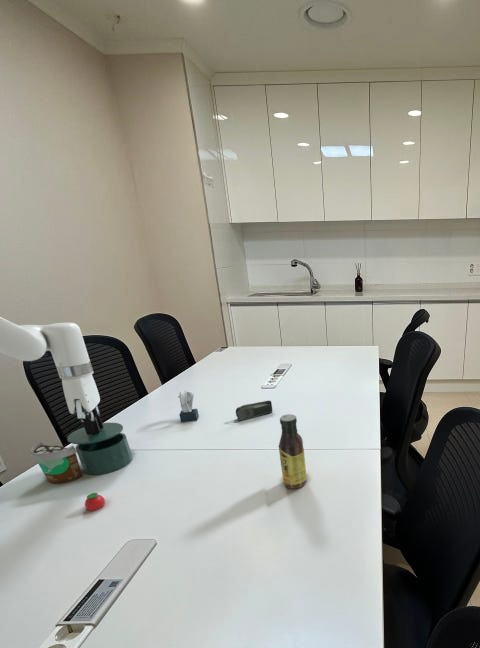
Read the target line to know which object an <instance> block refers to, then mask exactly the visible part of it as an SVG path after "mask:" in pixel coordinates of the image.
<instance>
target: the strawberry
mask: <svg viewBox="0 0 480 648" xmlns="http://www.w3.org/2000/svg"><path fill="white" fill-rule="evenodd" d="M105 504H106V499H105V498H104V496H102V494H98V493H97V492H92V493H89V494H88V495H86V499H85V501H84V507H85V508H86V509H87V510H88V511H90V512H95V511H98V510H100V509H102V508H103V507H105Z"/></svg>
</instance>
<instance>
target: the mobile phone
mask: <svg viewBox="0 0 480 648" xmlns="http://www.w3.org/2000/svg"><path fill="white" fill-rule="evenodd" d="M272 412H273V403H272V401H271V400H263V401H257V402H254V403H253V402H252V403H247V404H243V405H240V406H238V407H236V409H235V416H236V419H234V420H233V421H234V422H239V421H243V420H247V419H251V418H255V417H260V416H264V415H268V414H271V413H272Z"/></svg>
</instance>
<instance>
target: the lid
mask: <svg viewBox="0 0 480 648" xmlns="http://www.w3.org/2000/svg"><path fill="white" fill-rule="evenodd" d="M94 419H95V420H97V418H96V416H94ZM97 423H98V421H97ZM102 424H103V429H100V427H99V424H98V427H99V430H100V433H98V434H90V435H87V434H86V431H85V428H84V427H82V428H79V429H77V430H74V431H73V432H71V433H69V435H68V436H67V439H66V440H67V442H68V443H70V444H72V445H78V444H90V443H96V442H100V441H104V440H107V439H109V438H112V437H114V436H116V435H118V434H119V433H122V432H123V430H124V426H123V425H122V424H121V423H117V422H102Z"/></svg>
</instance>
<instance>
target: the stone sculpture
mask: <svg viewBox="0 0 480 648" xmlns="http://www.w3.org/2000/svg"><path fill="white" fill-rule="evenodd" d="M194 397H195V395H194V392H192V391H191V390H181V391H179V393H178V396H177V398H178V399H179V403H180V408H181V411H180V412H179V419H180V423H188V422H197V421H198V420H199V417H200V415H199V410H198V408H193V402H194Z"/></svg>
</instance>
